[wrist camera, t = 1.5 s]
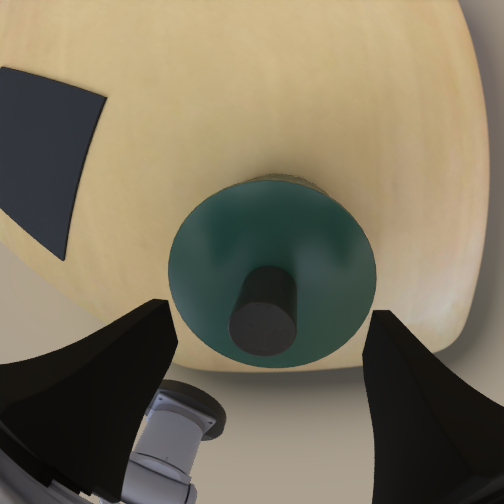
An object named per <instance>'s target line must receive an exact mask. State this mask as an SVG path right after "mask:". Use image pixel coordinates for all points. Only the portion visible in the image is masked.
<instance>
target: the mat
mask: <svg viewBox="0 0 504 504" xmlns="http://www.w3.org/2000/svg"><path fill="white" fill-rule="evenodd" d="M106 99H107V97H104V96H101V95H98V94H95V93H92V92H90V91H87V90H84V89H81V88H78V87H75V86H71V85H68V84H65V83H62V82H59V81H55V80H52V79H48V78H45V77H41V76H38V75H34V74H30V73H26V72H22V71H18V70H14V69H10V68H5V67H1V68H0V208H1V209H2V210H3V211H4V212H5V213H6V214H7V215H8V216H9V217H10V218H11V219H13V220H14V221H15V222H16V223H17V224H18V225H19V226H20V227H22V228H23V229H24V230H25V231H26V232H27V233H28V234H30V235H31V236H32V237H33V238H34V239H36V240H37V241H38V242H39V243H40V244H42V245H43V246H44V247H45V248H46V249H48V250H49V251H50V252H52V253H53V254H54V255H55V256H57V257H58V258H59V259H60V260H62V261H64V260H65V253H66V245H67V239H68V233H69V227H70V221H71V216H72V211H73V206H74V201H75V197H76V192H77V188H78V184H79V180H80V176H81V172H82V169H83V165H84V162H85V158H86V155H87V152H88V148H89V145H90V142H91V139H92V136H93V133H94V130H95V127H96V125H97V122H98V119H99V116H100V114H101V111H102V109H103V106H104V104H105V101H106Z"/></svg>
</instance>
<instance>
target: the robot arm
mask: <svg viewBox="0 0 504 504" xmlns="http://www.w3.org/2000/svg"><path fill="white" fill-rule="evenodd" d="M177 345H178V339H177V335H176V332H175V328H174V324H173V319H172V315H171V311H170V307H169V303H168V300H161V299H152V300H150V301H148V302H146V303H144V304H143V305H141V306H139V307H137V308H136V309H134V310H132V311H131V312H129V313H127V314H126V315H124V316H122V317H121V318H119V319H117V320H116V321H114V322H112V323H111V324H109V325H107V326H105V327H103V328H102V329H100V330H98V331H96V332H94V333H93V334H91V335H89V336H87V337H85V338H83V339H81V340H79V341H77V342H75V343H73V344H70V345H68V346H66V347H63V348H61V349H59V350H56V351H53V352H50V353H47V354H45V355H41V356H38V357H35V358H31V359H27V360H23V361H19V362H14V363H9V364H0V504H93V503H91V502H89V501H88V500H86V499H84V498H82V497H80V496H79V494H80V491H81V492H83V493H84V494H87V495H88V496H91V494H94V495H96V496H98V497H99V499H100V500H99V503H100V504H120V503H118V502H120V501H122V502H124V503H126V504H195V501H196V498H197V490H196V488H195V486H194V485H193V484H191V483H190V481H191V477H190V476H189V474H190V471H191V468H192V465H193V462H194V459H195V456H196V453H197V450H198V447H199V444H200V441H201V438H202V436H203V435H204V434H205V433H206V432H207V431H208V430H209V429H210V428H211V427H212V426H213V425H214V424H215V422H216V419H215V418H213V417H211V416H209V415H206V414H204V413H202V412H200V411H198V410H195V409H193V408H191V407H189V406H187V405H185V404H183V403H181V402H179V401H177V400H175V399H173V398H171V397H169V396H167V395H165V394H163V393H159V394H158V396H157V398H156V400H155V402H154V404H153V406H152V408H151V410H150V412H149V414H148V416H147V418H146V421H147V422H148V423H147V425H146V427H145V429H144V431H143V433H142V435H141V437H140V439H139V441H138V443H137V445H136V447H135V449H134V451H132V447H133V444H134V441H135V438H136V435H137V432H138V429H139V427H140V424H141V421H142V419H143V416H144V414H145V412H146V410H147V408H148V406H149V404H150V402H151V400H152V398H153V397H154V395H155V393H156V391H157V389H158V387H159V385H160V383H161V382H162V380H163V378H164V376H165V374H166V372H167V370H168V368H169V366H170V364H171V362H172V359H173V356H174V354H175V351H176V348H177ZM362 358H363V371H364V381H365V386H366V392H367V397H368V403H369V408H370V414H371V420H372V426H373V432H374V447H375V448H374V449H375V467H374V488H373V498H372V504H504V407H503V406H501V405H499V404H497V403H496V402H494V401H492V400H491V399H489V398H487V397H486V396H484V395H483V394H481V393H480V392H478V391H477V390H475V389H474V388H473V387H471V386H470V385H468V384H467V383H466V382H464V381H463V380H462V379H461V378H459V377H458V376H457V375H456V374H454V373H453V372H452V371H451V370H450V369H448V368H447V367H446V366H445V365H444V364H443V363H442V362H441V361H440V360H439V359H438V358H436V357H435V356H434V355H433V354H432V353H431V352H430V351H429V350H428V349H427V348H426V347H425V346H424V345H423V344H422V343H421V342H420V341H419V340H418V339H417V338H416V337H415V336H414V335H413V334H412V333H411V332H410V330H409V329H408V328H407V327H406V326H405V325H404V324H403V323H402V322H401V321H400V320H399V319H398V318H397V317H396V316H395V315H394V314H393V313H392V312H391V311H390V310H373V312H372V317H371V321H370V326H369V330H368V334H367V338H366V342H365V346H364V349H363V353H362Z"/></svg>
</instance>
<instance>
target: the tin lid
mask: <svg viewBox="0 0 504 504" xmlns="http://www.w3.org/2000/svg"><path fill="white" fill-rule="evenodd" d="M168 278H169V286H170V290H171V294H172V298H173V300H174V303H175V305H176V308H177V310H178V312H179V313H180V315H181V317H182V319H183V320H184V322H185V323H186V324H187V326H188V327H189V328H190V329H191V331H192V332H193V333H194V334H195V335H196V336H197V337H198V338H199V339H200V340H202V341H203V342H204V343H205V344H206V345H208V346H209V347H210V348H212V349H213V350H215V351H216V352H218V353H220V354H222V355H224V356H225V357H228V358H230V359H232V360H235V361H238V362H241V363H244V364H247V365H252V366H257V367H265V368H288V367H295V366H300V365H305V364H308V363H311V362H314V361H317V360H319V359H321V358H324V357H326V356H328V355H329V354H331V353H333V352H334V351H336V350H337V349H339V348H340V347H341V346H343V345H344V344H345V343H346V342H347V341H348V340H349V339H350V338H351V337H352V336H353V335H354V334H355V333H356V332H357V331H358V329H359V328H360V327H361V325H362V324H363V322H364V320H365V319H366V317H367V315H368V313H369V310H370V308H371V305H372V303H373V299H374V295H375V290H376V264H375V260H374V255H373V251H372V249H371V246H370V243H369V241H368V239H367V237H366V235H365V233H364V232H363V230H362V228H361V227H360V225H359V224H358V223H357V221H356V220H355V219H354V218H353V216H352V215H351V214H350V213H349V212H348V211H347V210H346V209H345V208H344V207H343V206H342V205H341V204H340V203H338V202H337V201H335V200H334V199H333V198H331V197H330V196H328V195H327V194H325V193H323V192H321V191H319V190H317V189H315V188H313V187H310V186H307V185H304V184H301V183H297V182H292V181H287V180H279V179H260V180H251V181H246V182H242V183H238V184H235V185H232V186H230V187H227V188H225V189H222V190H221V191H219V192H217V193H215V194H214V195H212V196H210V197H208V198H207V199H206V200H205V201H203V202H202V203H201V204H199V205H198V206H197V207H196V208H195V209H194V210H193V211H192V212H191V213H190V214H189V215H188V216H187V218H186V219H185V221H184V222H183V223H182V225H181V226H180V228H179V230H178V232H177V234H176V236H175V238H174V241H173V244H172V247H171V250H170V256H169V262H168Z"/></svg>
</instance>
